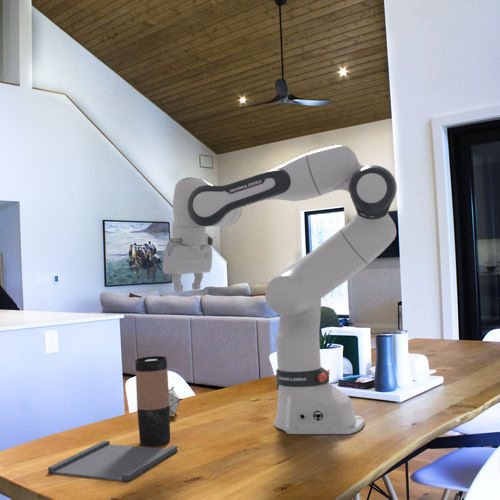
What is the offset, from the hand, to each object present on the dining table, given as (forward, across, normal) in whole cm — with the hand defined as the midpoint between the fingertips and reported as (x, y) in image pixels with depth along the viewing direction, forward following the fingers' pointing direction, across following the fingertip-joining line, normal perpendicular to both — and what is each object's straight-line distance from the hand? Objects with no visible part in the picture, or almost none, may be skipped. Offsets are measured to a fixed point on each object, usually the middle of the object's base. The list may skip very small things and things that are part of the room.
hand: (187, 290), depth 154 cm
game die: (+36, +6, +9) cm, 38 cm away
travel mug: (+36, -16, -1) cm, 39 cm away
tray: (+35, -31, -1) cm, 47 cm away
